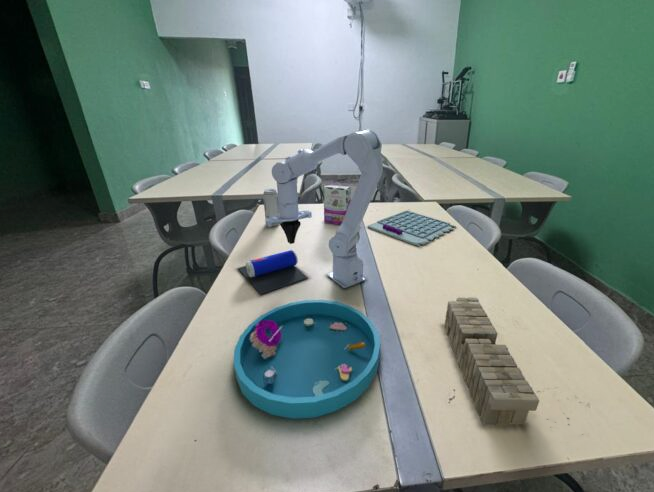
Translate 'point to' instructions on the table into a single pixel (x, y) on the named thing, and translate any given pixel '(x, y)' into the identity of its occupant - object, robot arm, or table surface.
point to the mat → (274, 279)
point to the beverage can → (271, 263)
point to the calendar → (412, 227)
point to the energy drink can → (271, 203)
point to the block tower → (487, 366)
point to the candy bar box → (336, 203)
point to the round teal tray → (307, 358)
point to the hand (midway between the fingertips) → (291, 242)
